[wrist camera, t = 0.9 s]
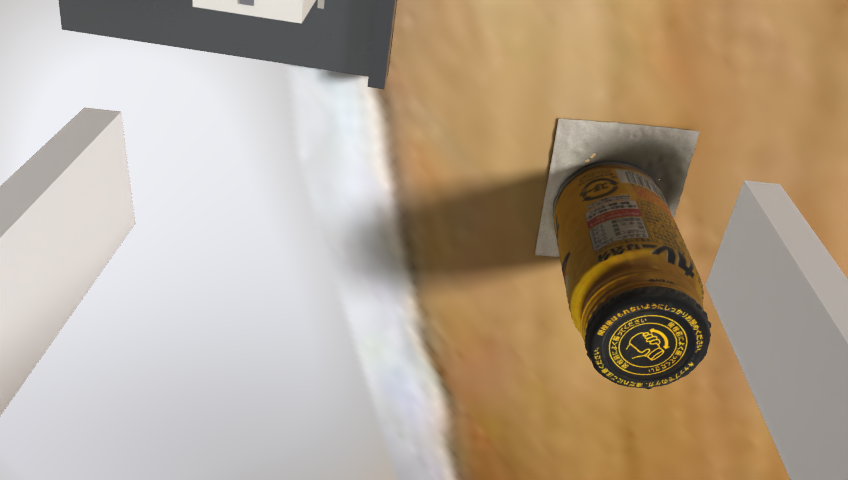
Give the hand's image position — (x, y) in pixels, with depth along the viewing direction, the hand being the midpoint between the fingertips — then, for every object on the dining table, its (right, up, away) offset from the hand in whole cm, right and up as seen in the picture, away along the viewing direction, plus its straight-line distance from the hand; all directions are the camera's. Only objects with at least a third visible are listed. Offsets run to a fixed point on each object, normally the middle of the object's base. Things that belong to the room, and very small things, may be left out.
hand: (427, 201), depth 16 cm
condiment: (+10, +2, +26) cm, 28 cm away
